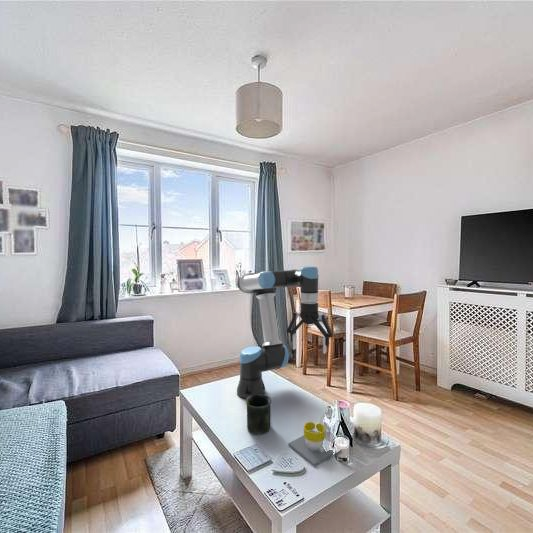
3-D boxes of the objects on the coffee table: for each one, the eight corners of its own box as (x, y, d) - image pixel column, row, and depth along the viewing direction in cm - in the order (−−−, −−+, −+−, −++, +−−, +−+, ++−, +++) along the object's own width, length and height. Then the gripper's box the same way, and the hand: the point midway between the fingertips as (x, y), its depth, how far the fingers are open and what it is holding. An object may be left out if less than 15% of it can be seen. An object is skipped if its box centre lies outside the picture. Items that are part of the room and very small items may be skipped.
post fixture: (288, 445, 114) (288, 433, 114) (314, 432, 123) (314, 420, 122) (314, 466, 103) (314, 453, 103) (340, 450, 111) (341, 437, 111)
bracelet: (324, 443, 108) (324, 434, 108) (302, 440, 110) (302, 431, 110) (325, 431, 115) (325, 423, 115) (304, 428, 117) (304, 420, 117)
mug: (249, 438, 119) (249, 409, 119) (242, 418, 133) (241, 392, 133) (275, 433, 122) (274, 404, 122) (265, 414, 136) (264, 389, 136)
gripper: (279, 301, 130) (279, 349, 131) (336, 305, 119) (336, 357, 120) (285, 299, 136) (285, 344, 138) (340, 302, 126) (339, 351, 127)
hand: (309, 350), depth 129 cm, fingers open, 13 cm apart
